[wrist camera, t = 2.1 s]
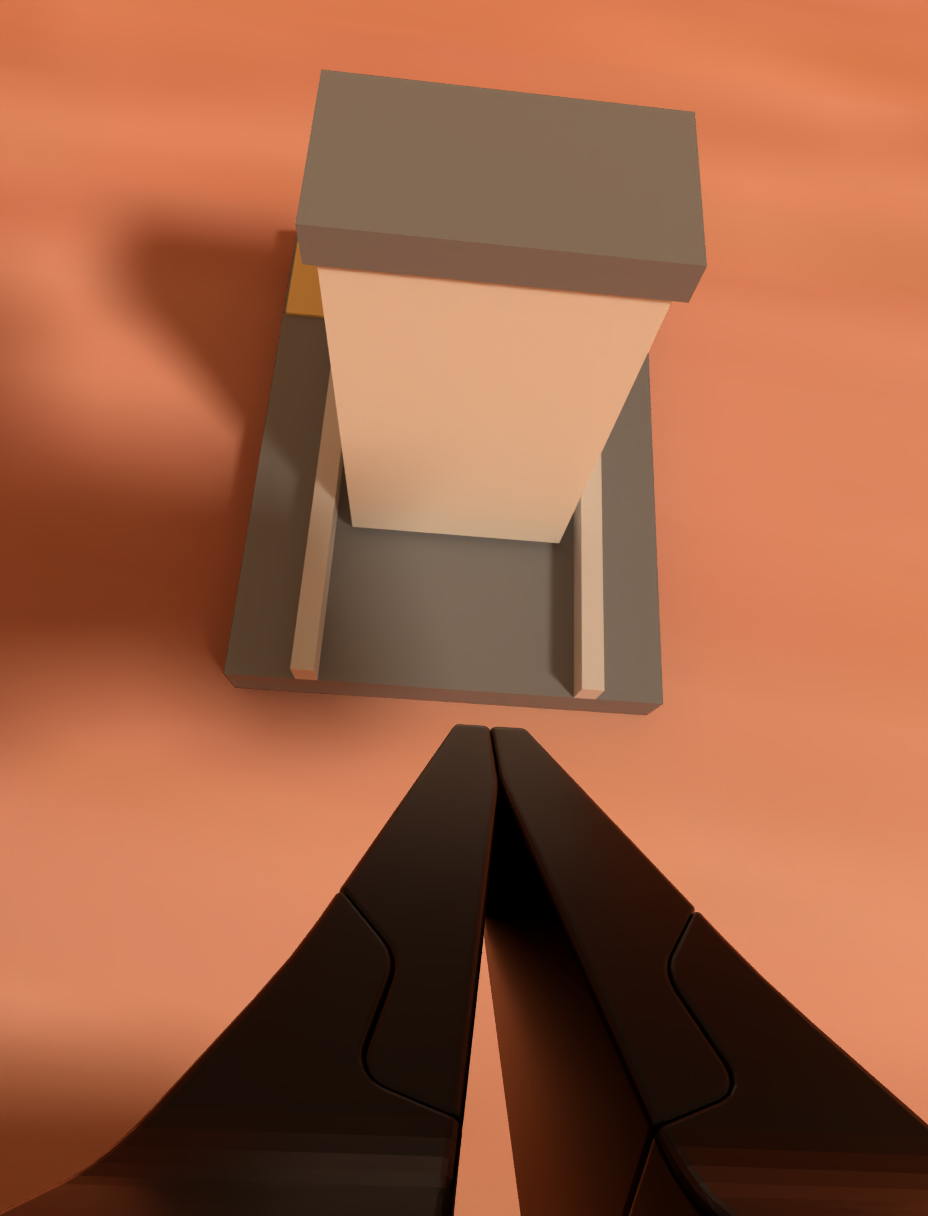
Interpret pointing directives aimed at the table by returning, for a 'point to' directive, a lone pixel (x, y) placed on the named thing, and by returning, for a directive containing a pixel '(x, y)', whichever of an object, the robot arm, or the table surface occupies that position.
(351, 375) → the fader knob
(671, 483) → the table surface
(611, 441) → the grey railed base plate
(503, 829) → the robot arm
